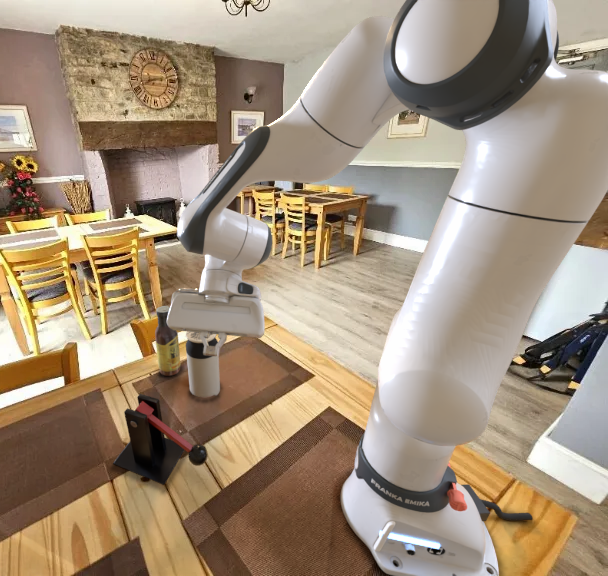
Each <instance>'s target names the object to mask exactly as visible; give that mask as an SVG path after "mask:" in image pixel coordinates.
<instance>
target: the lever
mask: <svg viewBox="0 0 608 576" xmlns="http://www.w3.org/2000/svg"><path fill="white" fill-rule="evenodd" d="M134 411H137V412H140V413H143V414H146V415H147V418H148V422H149V423H151V424H152V425H153V426H155V427H156V428H157V429H159V430H160V431H161V432H162V433H164V436H166V437H167V438H168V439H170V440H173V441H174V442H175V443H177V444H178V445H179V446H181V447H182V448H183V449H184V451H185V452H187V453H188V457H187V458H188V460H189V462H190V464H191V465H193V466H195V467H200V466H202V465H204V464H205V463H206V462H207V460H208V456H209V453H208V449H207V447H205V446H204V445H203V444H201V443H196V444H193V445H192V443H190V442H189V441H188V440H187V439H185V438H184V437H182V436H181V435H180V434H178V433H177V432H176V431H175V430H173V429H172V428H171V427H169V426H168V425H167V424H165V422H163V421H162V422H161V421H160V420H159V419H158V418H156V417H155V416H154V415H152V412H153V411H154V409H153V408H151V407H150V406H149V405H147V404H146V403H145V402H143V401H142V402H141V403H140V405H139V404H138V406H137V407H136V408H135V409H134Z"/></svg>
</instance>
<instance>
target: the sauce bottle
mask: <svg viewBox="0 0 608 576" xmlns="http://www.w3.org/2000/svg"><path fill="white" fill-rule="evenodd" d="M170 307H171V306H168V305H162V306H159V307H157V308H156V310H155V313H156V316H157V327H156V328H155V331H154V335H155V349H156V356H157V362H158V369H159V372H160V374H161V375H162V376H166V377H172V376H174V375H177V374H178V373H179V372H180V370H181V364H182V363H181V352H180V341H179V333H178V331H177V330H172V329H171V328H169V326H168V325H167V322H166V321H167V317H168V313H169V310H170Z"/></svg>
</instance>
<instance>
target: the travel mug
mask: <svg viewBox="0 0 608 576" xmlns="http://www.w3.org/2000/svg"><path fill="white" fill-rule="evenodd" d="M200 334H201V333H198V332H188V331H185V337H186V340H187V341H186V343H185V351H186V352H185V353H186V354H185V355H186V363H187V374H188V385H189V391H190V393H191V394H192V395H194V397H197V398H210V397H212V396H215V397H216V396H218V395H219V393H220V391H221V379H220V377H221V376H220V359H219V358H220V357H216V356H207V355H203V351H204V345H203V342H202V340H201V337H200ZM217 335H218V334H210V335H209V339H207V338H206V340H207V342H208V345H209V346H216V344H217V343H218V342H219V340H218V338H216V337H217Z"/></svg>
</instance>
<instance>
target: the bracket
mask: <svg viewBox="0 0 608 576" xmlns="http://www.w3.org/2000/svg"><path fill="white" fill-rule="evenodd" d="M136 398H137V404H138V406H139V405H140V403H141V402H142V401H143V402H145V403H146V404H147V405H149V406H150V407H151V408H153V409H154V411H153V412H152V415H154V416H155V417H156V418H158V419H159V420H160V421H161V422H163V416H162V410H161V409H162V408H161V404H160V403H161V402H160V399H159V398H155V397H153V396H150V395H147V394H143V393H139V394H138V395H137V397H136ZM123 414H124V419H125V423H126V428H127V432H128V437H129V442H128V443H127V445H126V446H125V447H124V448H123V450H122V451H121V453H119V455H118V456H117V457H116V459H115V460H114V461H113V463H112V464H113V465H115V466H117V467H119V468H122V469H124V470H127V471H129V472H131V473H134V474H136V475H139V476H141V477H144V478H146V479H149V480H151V481H153V482H156V483H157V484H161V485H162V486H164V485H165V484H166V483H167V481H168V479H169V478H170V476H171V474H172V472H173V470H174V469H175V467H176V466H177V464H178V462H179V460H180V458H181V457H182V455H183V453H184V451H185V450H184V449H183V448H182V447H181V446H179V445H178V444H177V443H175V442H174V441H173V440H171V439H170V438H168V437H165V436H166V435H165V434H164V433H162V432H161V431H160V430H159V429H157V428H156V427H155V426H153V425H152V424H151V423H149V422H148V418H147V415H146V414H143V413H140V412H137V411H135V409H131V408H128V407H127V408H126V409H125V410H124V411H123Z"/></svg>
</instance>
